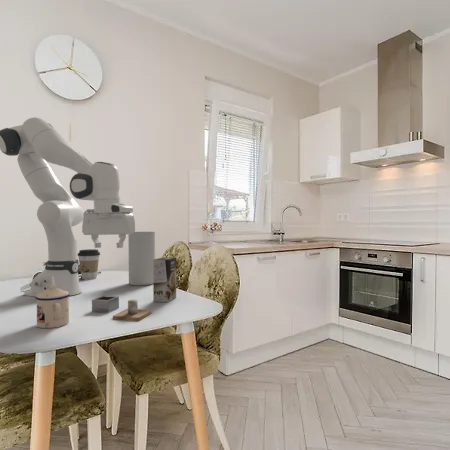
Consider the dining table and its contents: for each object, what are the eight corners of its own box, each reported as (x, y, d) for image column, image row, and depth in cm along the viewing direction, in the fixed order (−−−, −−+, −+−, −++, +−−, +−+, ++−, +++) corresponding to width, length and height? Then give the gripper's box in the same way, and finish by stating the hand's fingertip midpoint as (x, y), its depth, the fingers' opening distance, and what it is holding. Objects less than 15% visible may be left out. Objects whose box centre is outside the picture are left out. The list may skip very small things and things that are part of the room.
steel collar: (92, 311, 117) (91, 299, 117) (102, 306, 123) (102, 295, 123) (108, 312, 116) (108, 300, 116) (118, 307, 122) (118, 296, 122)
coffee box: (168, 302, 130) (168, 259, 129) (152, 301, 131) (152, 259, 131) (177, 297, 139) (176, 257, 138) (161, 296, 140) (161, 256, 140)
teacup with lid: (33, 323, 104) (33, 284, 104) (65, 318, 110) (65, 281, 109) (40, 333, 95) (40, 291, 94) (75, 327, 100) (75, 287, 100)
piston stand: (112, 319, 108) (112, 303, 108) (127, 311, 117) (127, 296, 117) (139, 320, 106) (138, 304, 106) (151, 313, 115) (151, 298, 115)
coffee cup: (73, 280, 178) (72, 251, 177) (85, 276, 189) (85, 249, 188) (93, 280, 176) (93, 251, 175) (104, 276, 187) (104, 249, 187)
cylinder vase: (133, 281, 174) (132, 231, 174) (157, 281, 174) (157, 231, 173) (125, 286, 161) (124, 232, 161) (151, 286, 161) (151, 232, 161)
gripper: (77, 209, 121) (78, 248, 122) (125, 206, 114) (127, 248, 115) (89, 209, 127) (91, 247, 128) (137, 207, 120) (138, 246, 121)
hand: (108, 247), depth 121 cm, fingers open, 8 cm apart
